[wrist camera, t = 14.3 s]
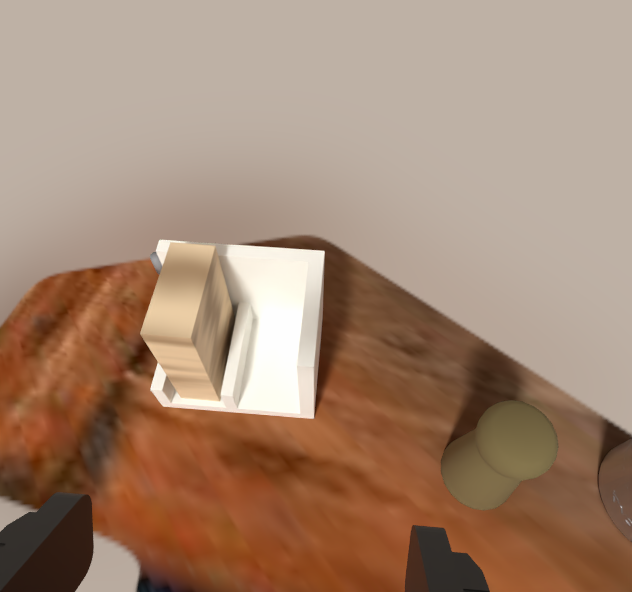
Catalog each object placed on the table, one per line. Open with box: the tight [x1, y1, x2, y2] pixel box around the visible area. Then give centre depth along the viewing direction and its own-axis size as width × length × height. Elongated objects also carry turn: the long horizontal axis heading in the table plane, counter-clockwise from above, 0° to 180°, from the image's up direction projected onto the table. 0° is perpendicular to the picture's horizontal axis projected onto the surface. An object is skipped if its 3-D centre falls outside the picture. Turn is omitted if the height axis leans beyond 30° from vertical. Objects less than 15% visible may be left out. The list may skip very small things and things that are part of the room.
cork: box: [441, 400, 558, 510], centre depth 36 cm, size 6×6×11 cm
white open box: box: [150, 240, 325, 419], centre depth 41 cm, size 10×15×11 cm
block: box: [140, 242, 236, 402], centre depth 40 cm, size 8×4×12 cm, turn 174°
